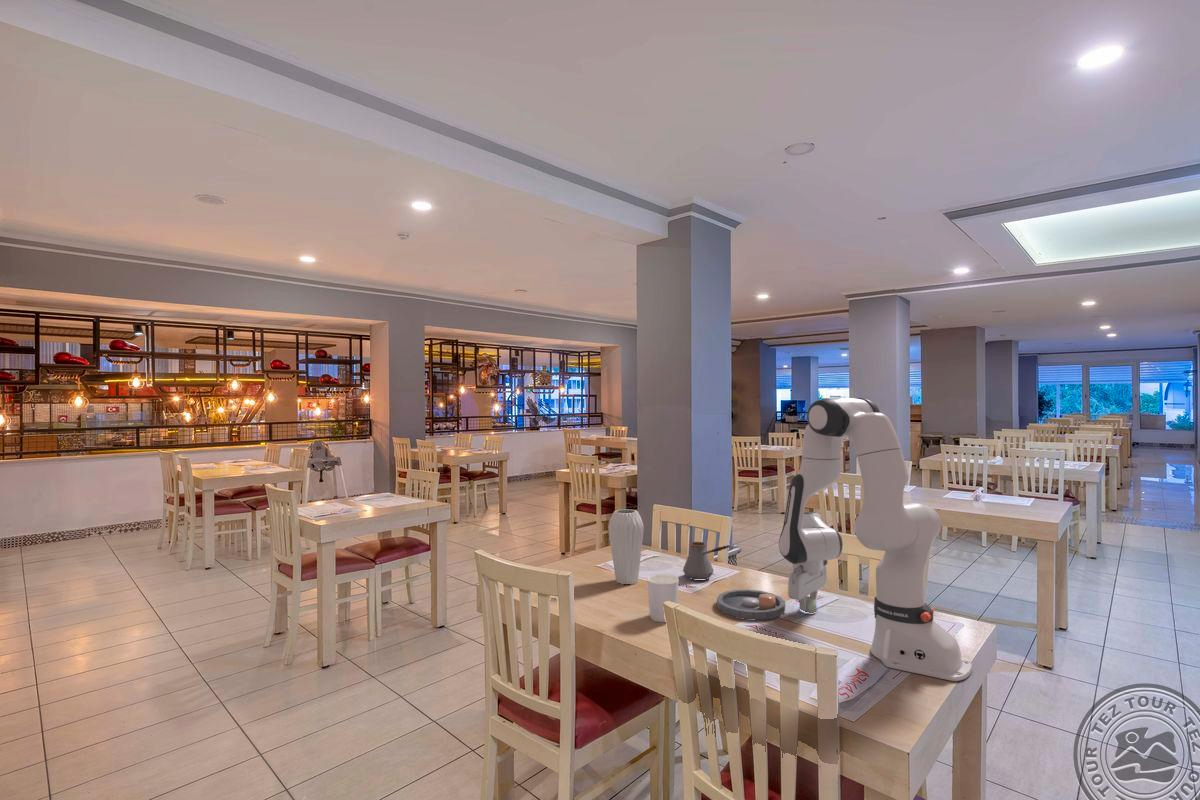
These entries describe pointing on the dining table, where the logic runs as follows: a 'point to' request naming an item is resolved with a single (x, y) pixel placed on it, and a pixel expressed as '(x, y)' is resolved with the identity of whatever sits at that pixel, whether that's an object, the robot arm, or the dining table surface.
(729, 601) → the groove tray
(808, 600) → the sage bead
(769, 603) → the terracotta bead
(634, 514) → the vase
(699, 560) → the coffee pot
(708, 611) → the dining table surface
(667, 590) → the white paper cup
